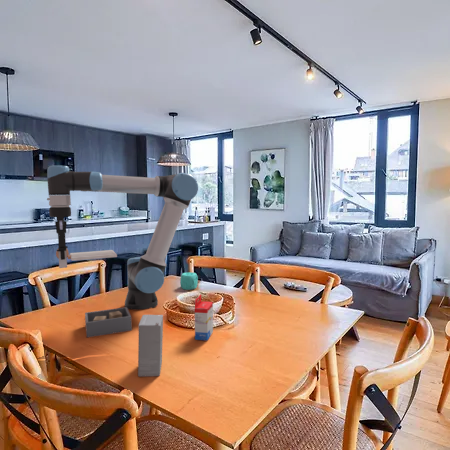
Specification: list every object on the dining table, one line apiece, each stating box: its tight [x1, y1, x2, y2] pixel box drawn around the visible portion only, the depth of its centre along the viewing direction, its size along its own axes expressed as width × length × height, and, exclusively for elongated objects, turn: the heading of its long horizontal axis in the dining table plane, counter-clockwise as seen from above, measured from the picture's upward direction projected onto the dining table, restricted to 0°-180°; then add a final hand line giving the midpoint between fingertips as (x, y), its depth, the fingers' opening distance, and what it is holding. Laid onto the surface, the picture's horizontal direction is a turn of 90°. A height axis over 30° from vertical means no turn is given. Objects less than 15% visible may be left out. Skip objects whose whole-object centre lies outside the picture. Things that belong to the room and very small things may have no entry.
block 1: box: [93, 316, 106, 321], centre depth 132 cm, size 4×4×5 cm
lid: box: [55, 248, 118, 262], centre depth 138 cm, size 22×13×4 cm, turn 116°
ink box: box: [194, 294, 214, 341], centre depth 127 cm, size 8×5×15 cm, turn 168°
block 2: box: [109, 311, 122, 319], centre depth 137 cm, size 4×4×5 cm
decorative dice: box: [179, 271, 199, 291], centre depth 193 cm, size 8×8×8 cm
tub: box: [84, 306, 133, 338], centre depth 134 cm, size 16×12×6 cm
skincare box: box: [137, 314, 164, 378], centre depth 103 cm, size 8×7×16 cm
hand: (63, 266), depth 135 cm, fingers closed on lid, 4 cm apart
